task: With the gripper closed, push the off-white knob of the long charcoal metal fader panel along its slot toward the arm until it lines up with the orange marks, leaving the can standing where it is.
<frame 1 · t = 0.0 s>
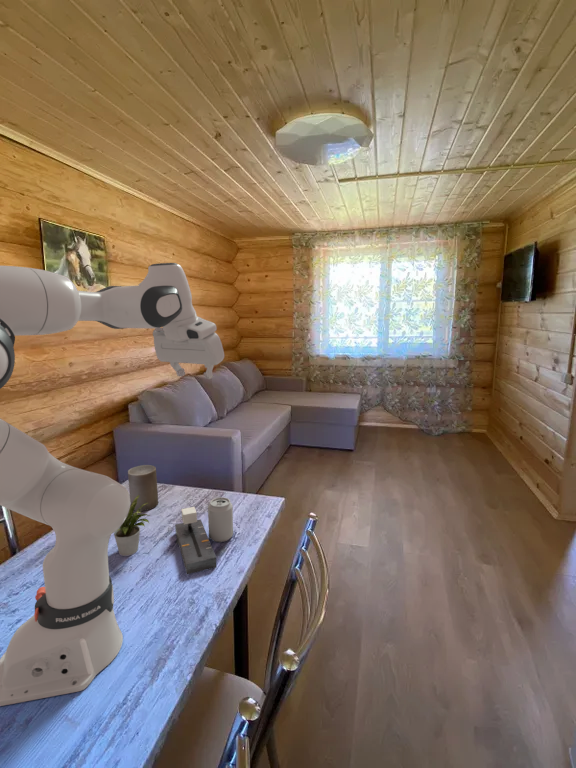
hand: (195, 376, 103), 52 cm above the table, tool tilted 20°, fingers open, 8 cm apart
fader panel: (194, 548, 113), on the table
can: (221, 537, 120), on the table
house plant: (124, 553, 111), on the table
fader knob: (189, 518, 120), point 6 cm above the table, slide at 0.0 cm
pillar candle: (144, 505, 140), on the table
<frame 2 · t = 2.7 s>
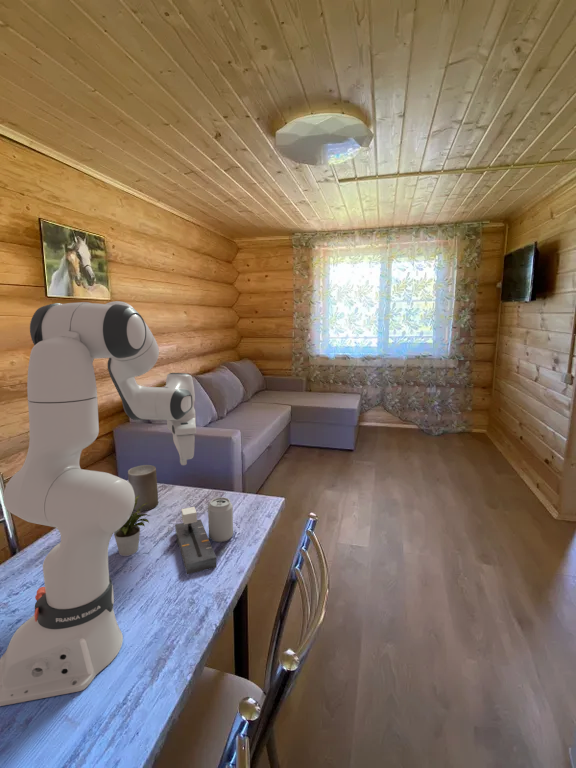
hand: (183, 463, 124), 21 cm above the table, tool pointing down, fingers closed
nothing on the table moved.
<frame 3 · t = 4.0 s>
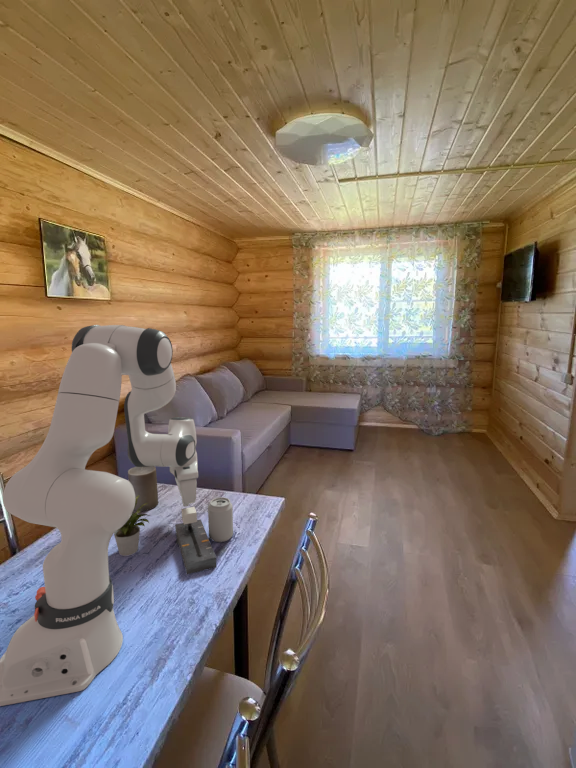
hand: (185, 504, 127), 7 cm above the table, tool pointing down, fingers closed
nothing on the table moved.
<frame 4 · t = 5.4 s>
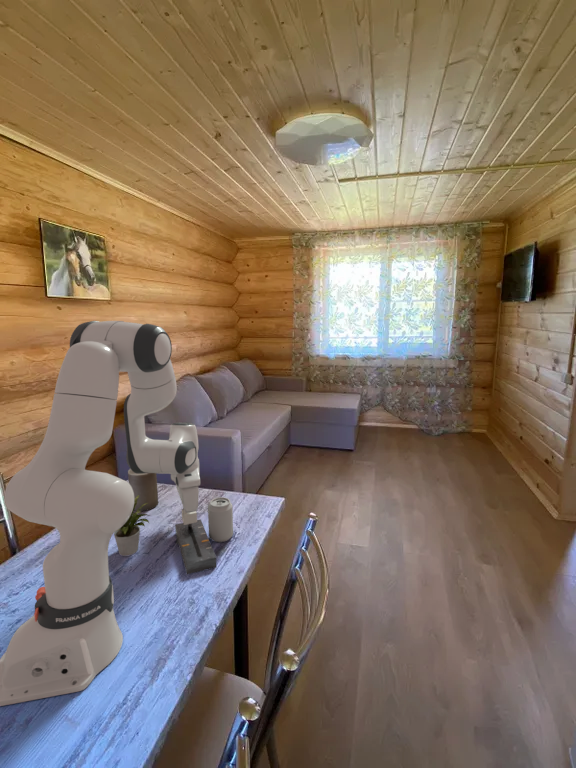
hand: (186, 512, 123), 6 cm above the table, tool pointing down, fingers closed
fader knob: (189, 518, 119), point 6 cm above the table, slide at 0.2 cm, touching gripper
everything else where it was.
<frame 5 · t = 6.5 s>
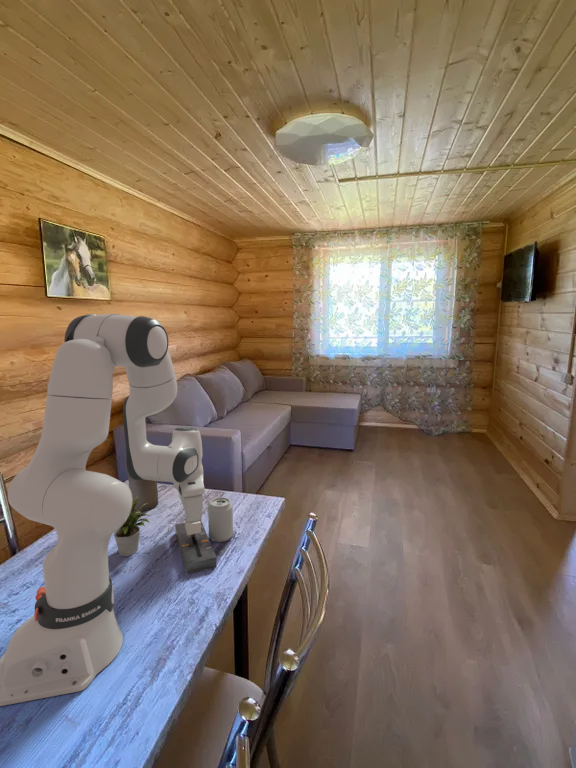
hand: (190, 522, 117), 6 cm above the table, tool pointing down, fingers closed
fader knob: (193, 528, 114), point 6 cm above the table, slide at 6.6 cm, touching gripper
everything else where it was.
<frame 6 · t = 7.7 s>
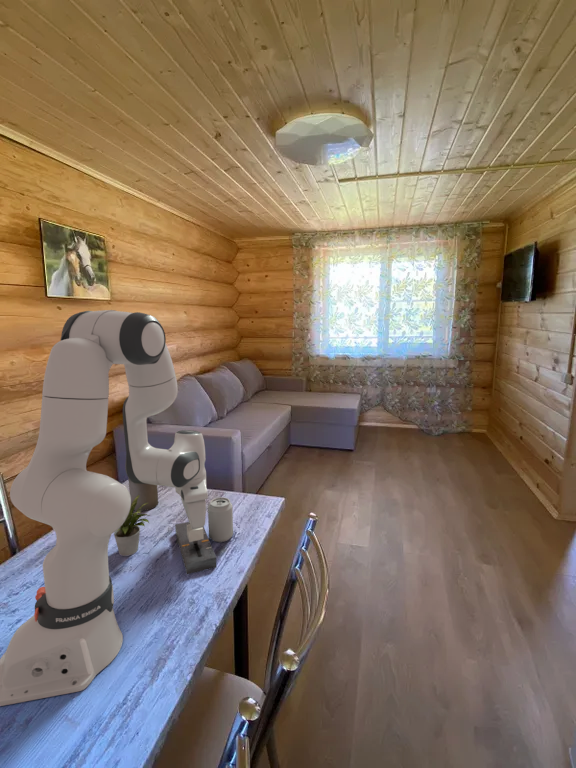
hand: (192, 527, 114), 6 cm above the table, tool pointing down, fingers closed
fader knob: (195, 534, 110), point 6 cm above the table, slide at 10.2 cm, touching gripper
everything else where it was.
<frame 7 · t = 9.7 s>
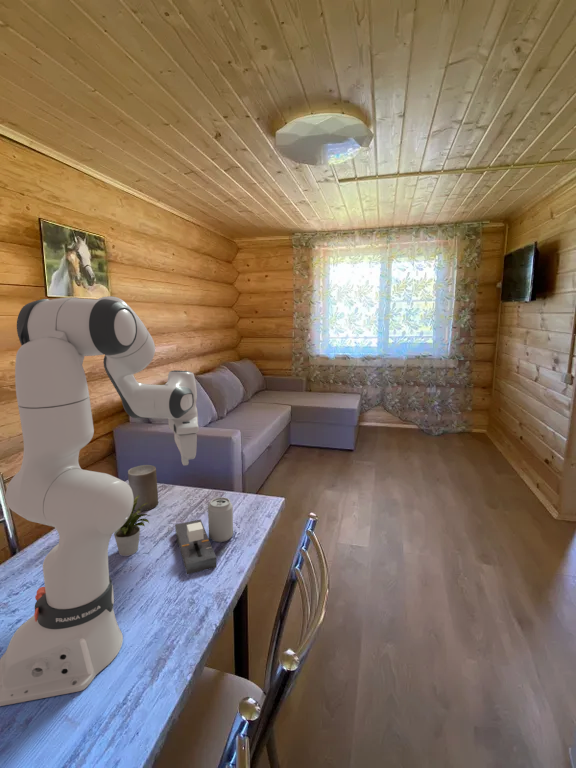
hand: (185, 463, 121), 22 cm above the table, tool pointing down, fingers closed
fader knob: (195, 534, 110), point 6 cm above the table, slide at 10.2 cm
everything else where it was.
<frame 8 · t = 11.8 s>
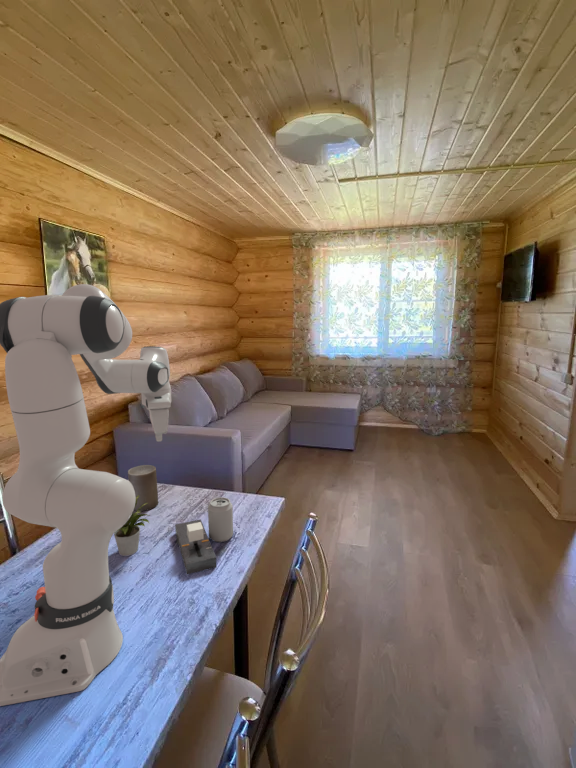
hand: (159, 440, 122), 29 cm above the table, tool pointing down, fingers closed
nothing on the table moved.
at the end: fader knob slide at 10.2 cm; can moved 0.2 cm from its start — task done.
